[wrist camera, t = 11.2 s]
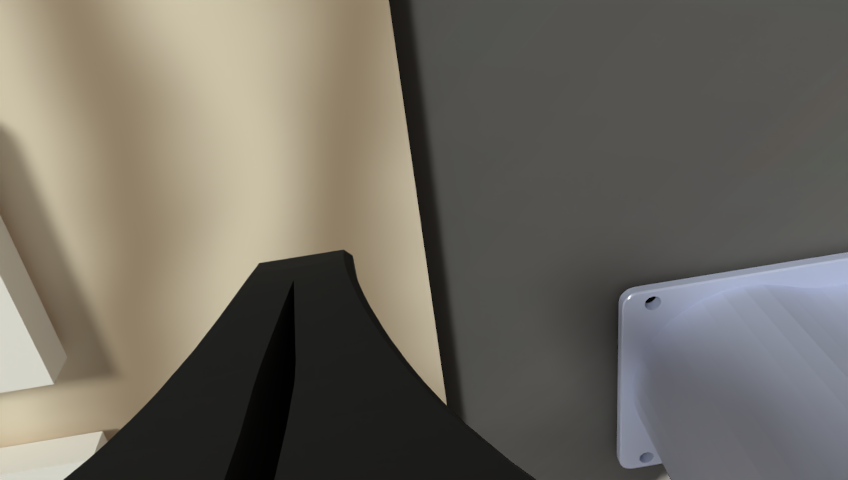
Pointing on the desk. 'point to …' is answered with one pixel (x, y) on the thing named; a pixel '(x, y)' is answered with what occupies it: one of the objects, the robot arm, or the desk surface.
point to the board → (196, 181)
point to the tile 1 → (24, 327)
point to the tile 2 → (49, 457)
